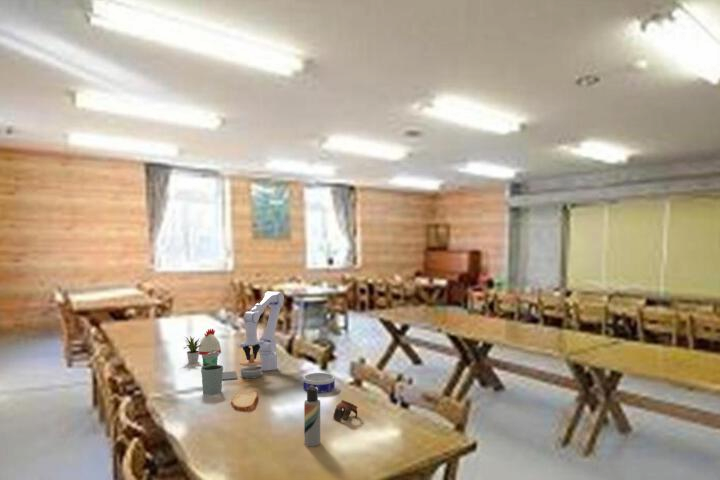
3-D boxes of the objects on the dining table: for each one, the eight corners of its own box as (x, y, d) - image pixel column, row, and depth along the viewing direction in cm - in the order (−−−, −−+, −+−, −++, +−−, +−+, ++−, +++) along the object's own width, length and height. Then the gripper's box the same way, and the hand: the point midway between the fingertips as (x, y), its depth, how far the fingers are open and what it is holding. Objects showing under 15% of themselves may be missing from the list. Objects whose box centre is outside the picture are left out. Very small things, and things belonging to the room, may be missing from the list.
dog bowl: (339, 386, 246) (339, 374, 246) (327, 395, 231) (327, 382, 231) (311, 383, 251) (311, 371, 251) (298, 391, 236) (298, 379, 236)
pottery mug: (329, 417, 204) (337, 397, 206) (349, 426, 204) (357, 407, 207) (334, 419, 192) (343, 399, 195) (356, 429, 193) (364, 409, 196)
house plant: (173, 363, 289) (173, 336, 289) (189, 358, 302) (189, 332, 302) (192, 366, 284) (192, 337, 284) (208, 360, 297) (208, 333, 297)
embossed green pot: (203, 396, 228) (203, 370, 228) (199, 390, 237) (199, 366, 237) (225, 393, 233) (225, 368, 233) (220, 387, 242) (220, 363, 242)
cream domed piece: (225, 351, 322) (225, 328, 322) (208, 355, 311) (208, 331, 311) (210, 348, 330) (210, 326, 330) (193, 352, 318) (193, 329, 318)
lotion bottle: (311, 439, 180) (311, 384, 180) (323, 442, 177) (323, 386, 177) (301, 444, 175) (301, 388, 175) (313, 448, 172) (313, 390, 172)
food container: (212, 373, 269) (212, 354, 269) (201, 372, 270) (201, 354, 270) (222, 367, 281) (222, 350, 281) (213, 366, 282) (213, 349, 282)
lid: (261, 359, 271) (261, 351, 271) (264, 365, 260) (264, 355, 260) (239, 361, 267) (239, 352, 267) (240, 366, 256) (240, 357, 256)
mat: (235, 372, 271) (235, 371, 271) (237, 379, 257) (237, 377, 257) (205, 374, 266) (205, 373, 266) (205, 381, 252) (205, 380, 252)
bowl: (260, 372, 270) (260, 365, 270) (263, 377, 260) (263, 370, 260) (239, 374, 267) (239, 366, 267) (241, 379, 256) (241, 371, 256)
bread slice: (246, 413, 207) (246, 404, 207) (217, 405, 217) (217, 397, 217) (275, 402, 222) (275, 393, 222) (247, 395, 232) (247, 387, 232)
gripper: (259, 331, 271) (260, 356, 271) (235, 334, 262) (235, 360, 262) (266, 333, 266) (266, 358, 266) (241, 336, 256) (241, 362, 257)
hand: (251, 359), depth 263 cm, fingers closed on lid, 3 cm apart
